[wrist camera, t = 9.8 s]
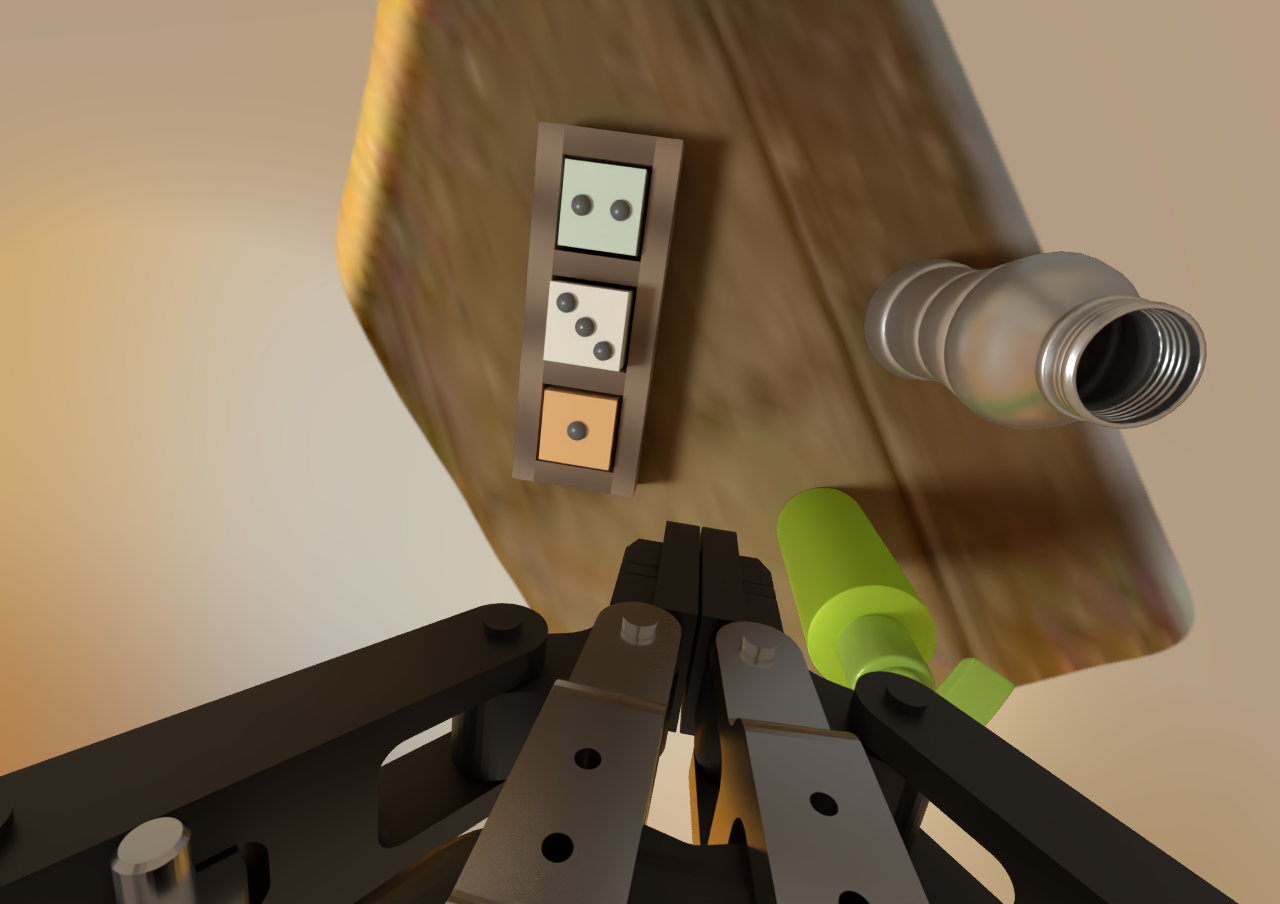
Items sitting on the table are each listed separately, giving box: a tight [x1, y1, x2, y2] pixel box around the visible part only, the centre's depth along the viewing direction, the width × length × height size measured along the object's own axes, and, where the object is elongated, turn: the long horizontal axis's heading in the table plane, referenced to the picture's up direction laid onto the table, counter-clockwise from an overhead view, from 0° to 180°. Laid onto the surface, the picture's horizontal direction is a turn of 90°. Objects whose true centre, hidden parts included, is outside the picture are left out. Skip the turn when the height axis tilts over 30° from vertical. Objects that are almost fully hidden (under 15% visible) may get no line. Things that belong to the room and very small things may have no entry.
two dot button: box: [558, 159, 651, 257], centre depth 35 cm, size 4×4×3 cm
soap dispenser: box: [777, 488, 1015, 726], centre depth 31 cm, size 6×7×20 cm
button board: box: [512, 121, 685, 498], centre depth 37 cm, size 21×8×2 cm, turn 172°
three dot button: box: [543, 280, 634, 372], centre depth 36 cm, size 4×4×3 cm
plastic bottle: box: [864, 251, 1206, 429], centre depth 27 cm, size 6×7×20 cm
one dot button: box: [539, 385, 623, 470], centre depth 39 cm, size 4×4×3 cm
